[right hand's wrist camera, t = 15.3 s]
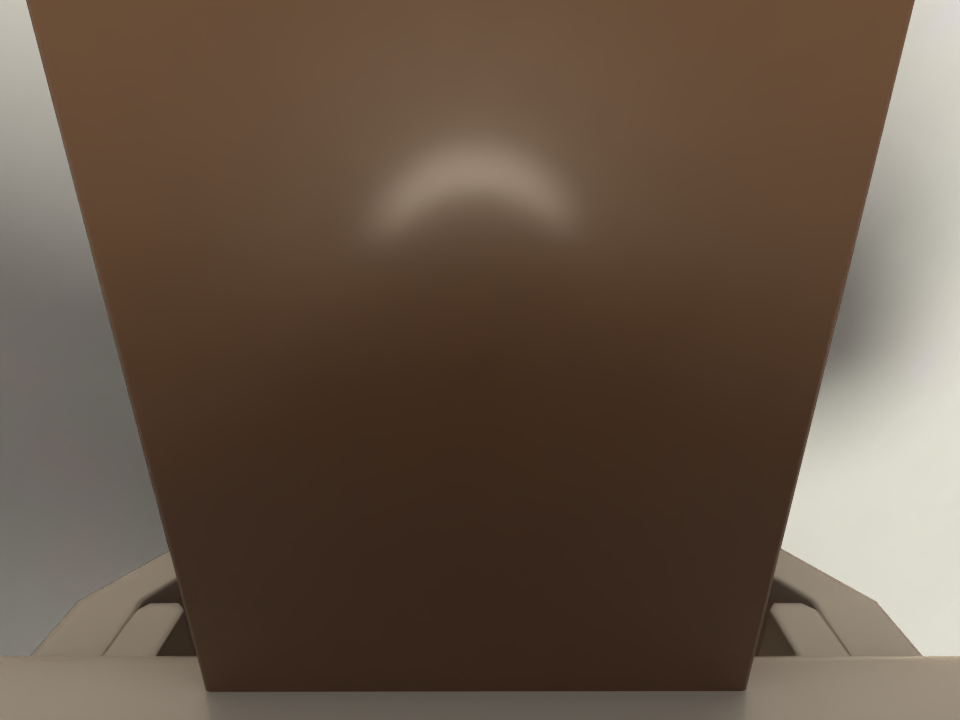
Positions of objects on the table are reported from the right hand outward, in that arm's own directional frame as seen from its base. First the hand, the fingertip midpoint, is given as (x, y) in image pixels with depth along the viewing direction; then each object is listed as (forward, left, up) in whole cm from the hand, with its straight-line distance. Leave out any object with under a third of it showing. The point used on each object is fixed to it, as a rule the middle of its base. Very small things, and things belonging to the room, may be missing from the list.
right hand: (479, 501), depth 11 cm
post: (+17, -19, -3) cm, 26 cm away
